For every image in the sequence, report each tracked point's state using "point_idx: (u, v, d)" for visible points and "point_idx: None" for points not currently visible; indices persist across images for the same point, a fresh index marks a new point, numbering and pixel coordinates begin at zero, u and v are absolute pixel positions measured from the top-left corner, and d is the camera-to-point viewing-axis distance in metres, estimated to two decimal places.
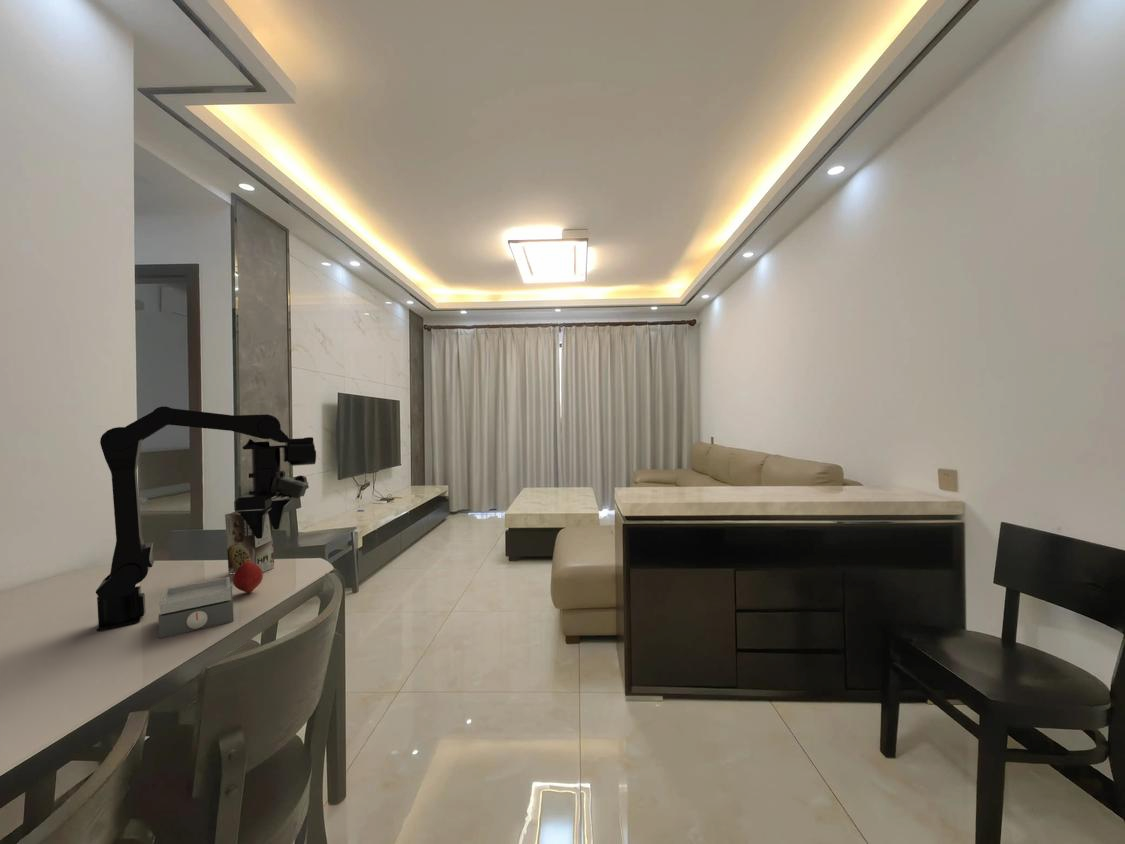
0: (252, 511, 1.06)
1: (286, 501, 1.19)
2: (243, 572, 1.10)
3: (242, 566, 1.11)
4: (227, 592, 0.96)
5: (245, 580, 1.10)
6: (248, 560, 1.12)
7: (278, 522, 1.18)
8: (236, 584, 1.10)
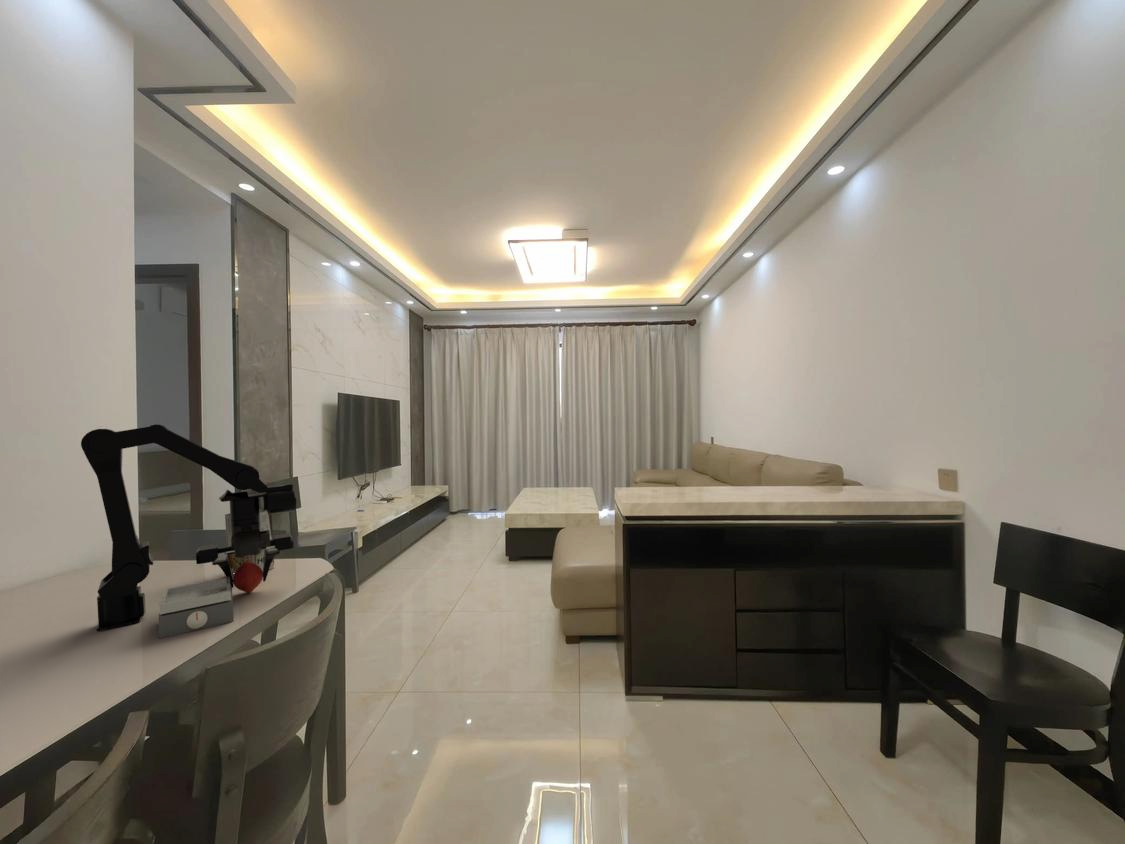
0: None
1: (266, 555, 1.13)
2: (243, 572, 1.10)
3: (242, 566, 1.11)
4: (227, 592, 0.96)
5: (245, 580, 1.10)
6: (248, 560, 1.12)
7: (263, 574, 1.14)
8: (236, 584, 1.10)
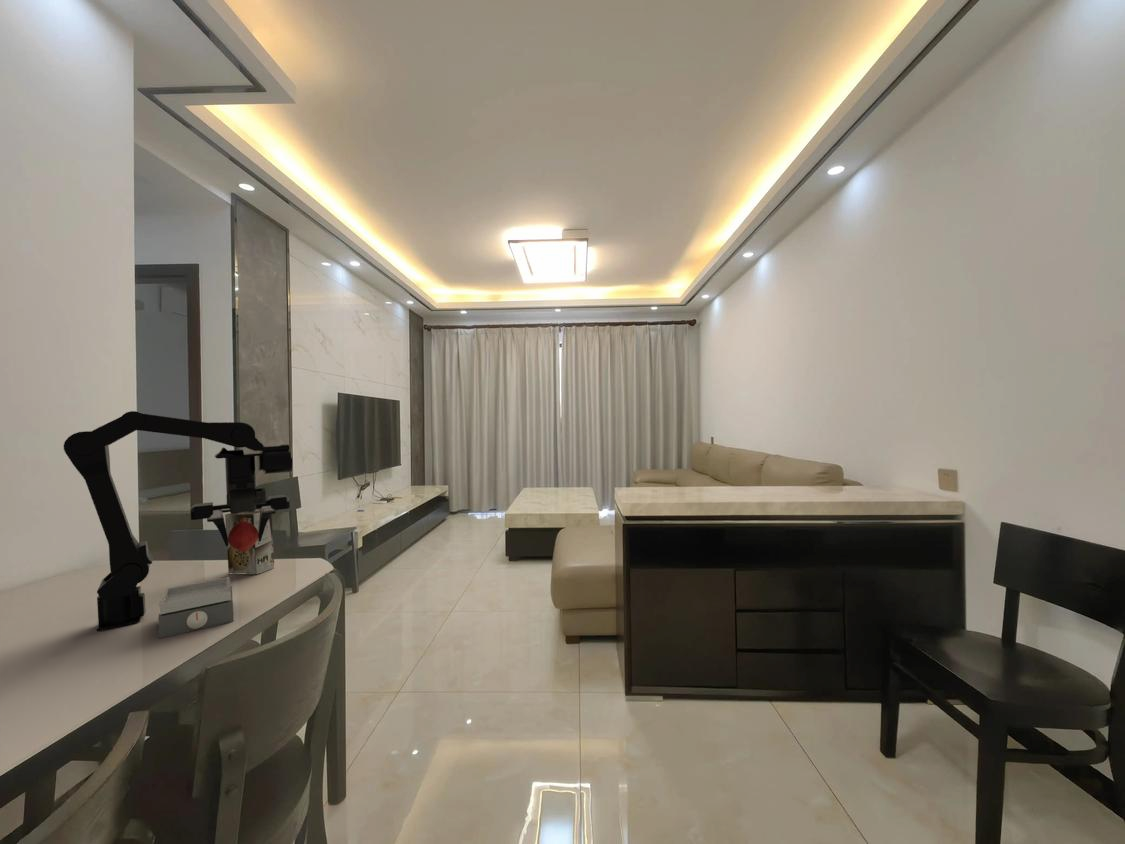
0: (207, 518, 1.08)
1: (261, 514, 1.12)
2: (239, 530, 1.09)
3: (237, 525, 1.10)
4: (227, 592, 0.96)
5: (240, 539, 1.09)
6: (244, 519, 1.11)
7: (258, 534, 1.13)
8: (231, 542, 1.09)
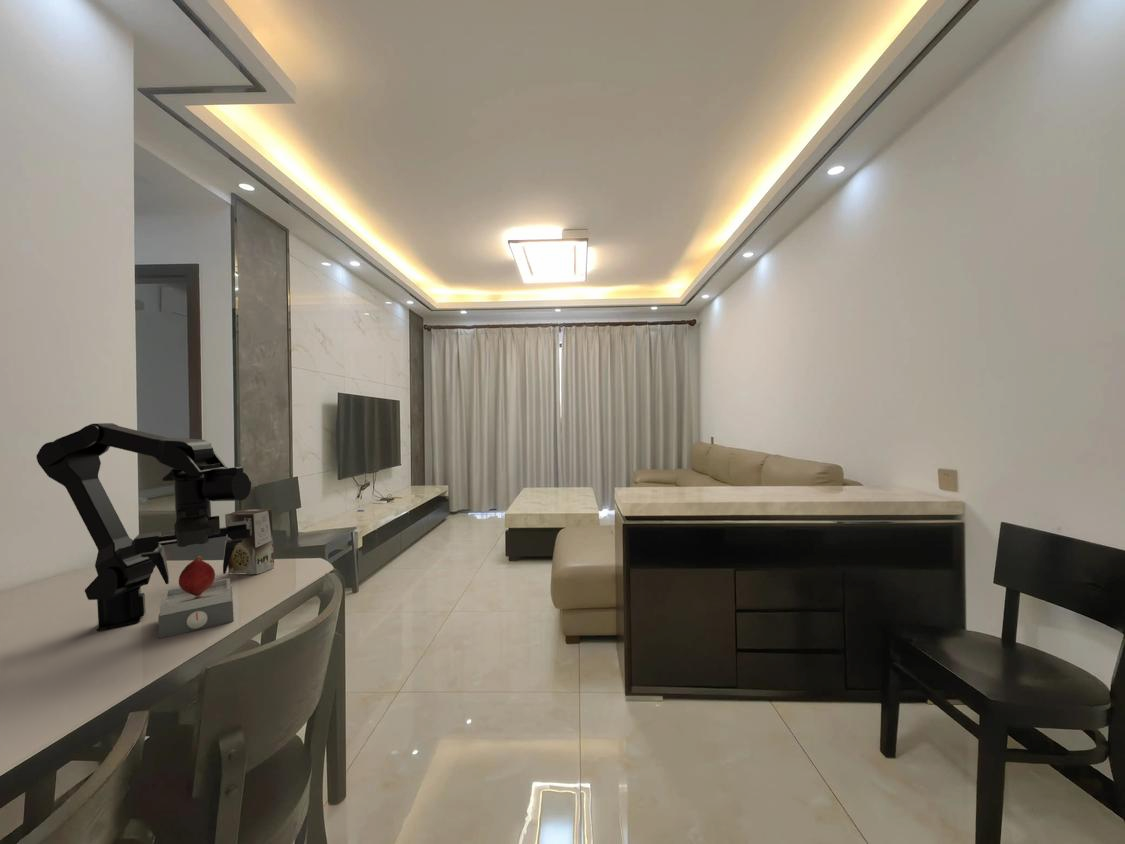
0: None
1: (225, 543, 0.99)
2: (191, 572, 0.96)
3: (190, 565, 0.97)
4: (227, 593, 0.96)
5: (192, 581, 0.95)
6: (198, 558, 0.98)
7: (223, 566, 1.00)
8: (182, 585, 0.95)
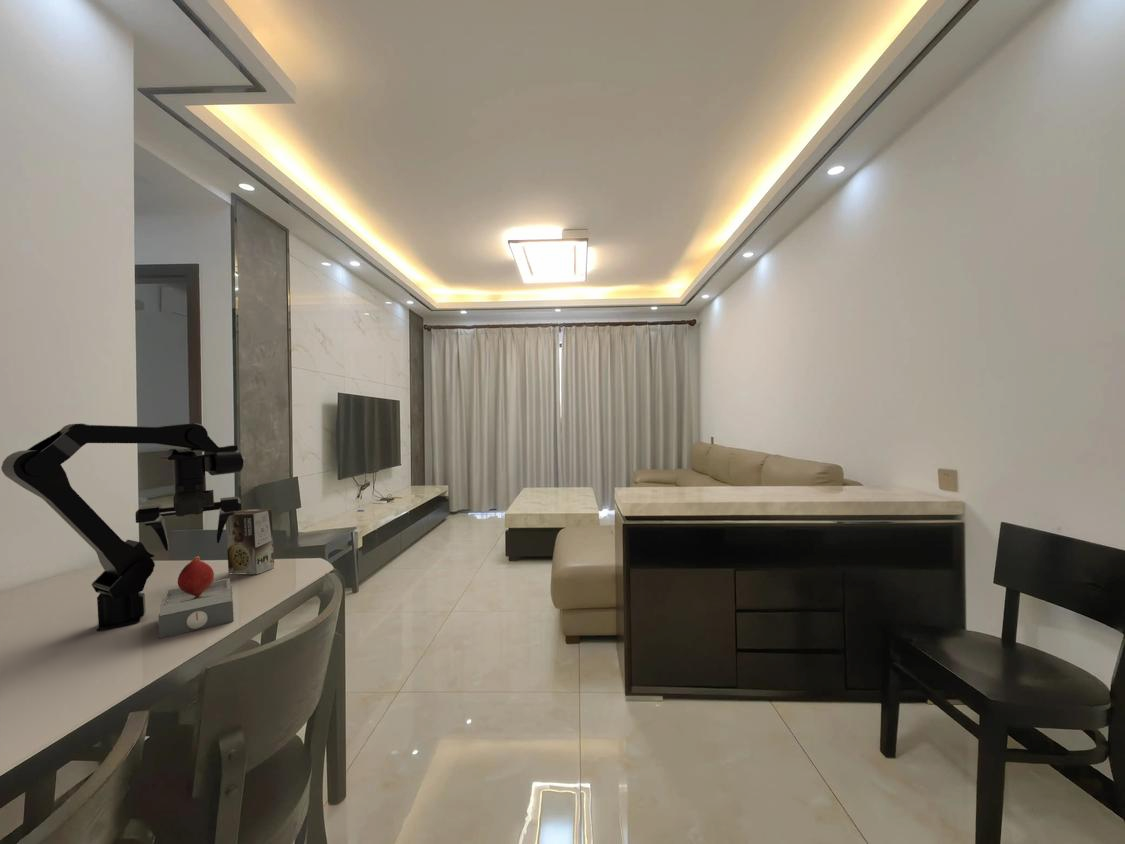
0: None
1: (219, 515, 1.11)
2: (190, 572, 0.96)
3: (189, 565, 0.97)
4: (227, 593, 0.96)
5: (192, 581, 0.95)
6: (196, 558, 0.98)
7: None
8: (181, 586, 0.95)
